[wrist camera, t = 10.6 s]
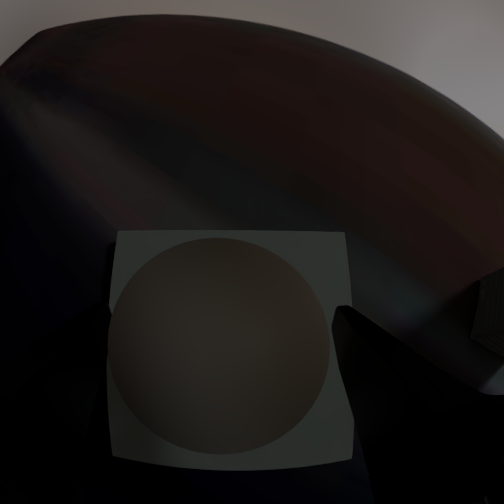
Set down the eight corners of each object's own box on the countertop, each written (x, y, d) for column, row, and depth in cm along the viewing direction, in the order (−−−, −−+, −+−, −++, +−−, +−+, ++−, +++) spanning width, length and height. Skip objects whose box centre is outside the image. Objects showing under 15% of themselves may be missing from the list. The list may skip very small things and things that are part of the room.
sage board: (344, 451, 15) (352, 459, 14) (120, 449, 15) (111, 456, 13) (337, 240, 21) (345, 231, 19) (125, 238, 20) (117, 229, 18)
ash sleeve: (207, 409, 15) (163, 481, 4) (172, 333, 16) (82, 284, 6) (285, 374, 16) (367, 391, 5) (248, 299, 17) (268, 206, 7)
